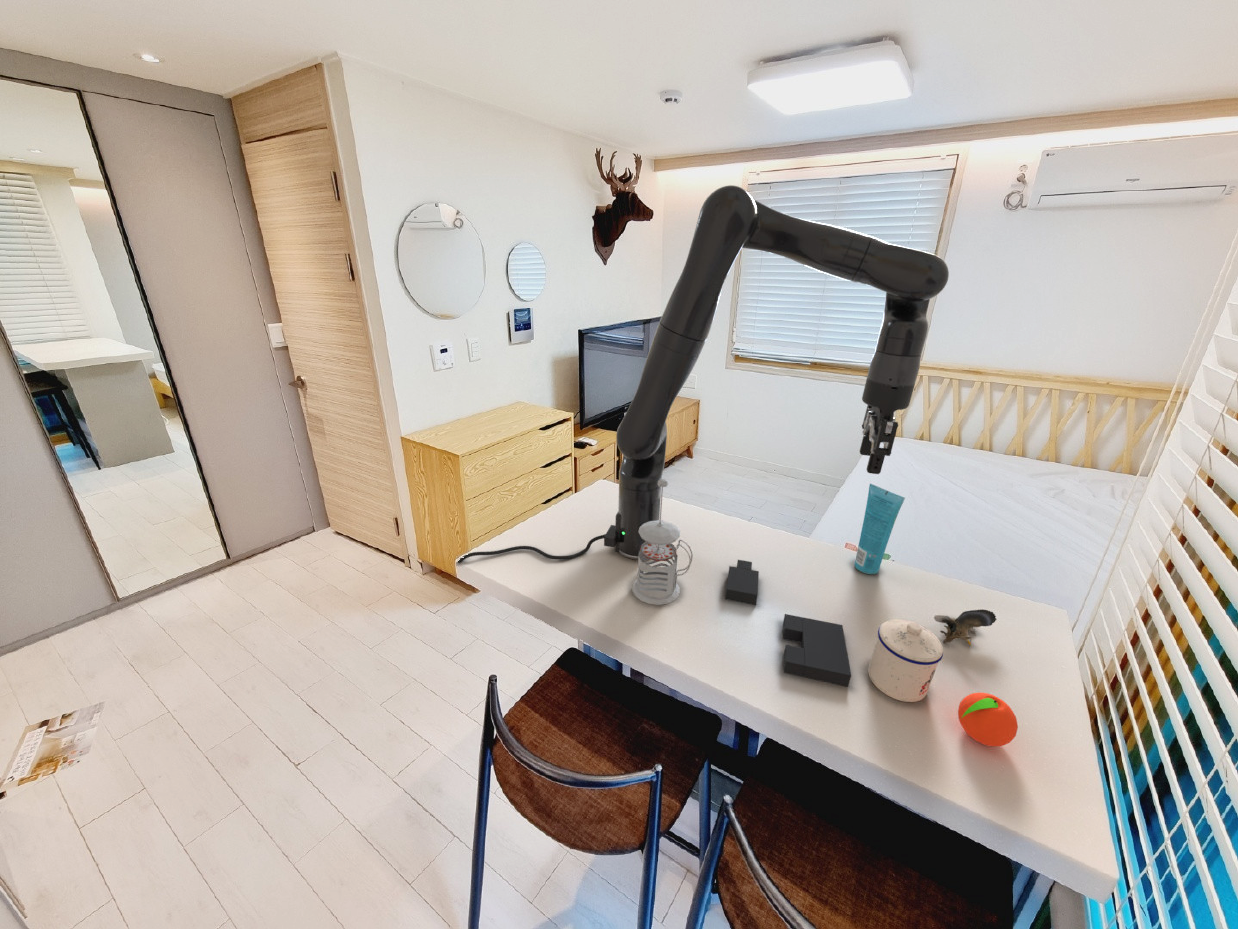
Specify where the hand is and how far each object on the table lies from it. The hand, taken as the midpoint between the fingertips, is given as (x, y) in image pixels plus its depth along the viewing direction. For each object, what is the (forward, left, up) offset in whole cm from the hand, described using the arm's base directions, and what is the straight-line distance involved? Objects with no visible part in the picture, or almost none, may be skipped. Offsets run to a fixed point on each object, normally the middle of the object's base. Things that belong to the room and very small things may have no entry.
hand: (869, 463), depth 93 cm
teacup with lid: (+7, -23, -28) cm, 37 cm away
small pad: (-19, -6, -28) cm, 35 cm away
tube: (+7, +8, -28) cm, 30 cm away
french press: (-35, -13, -28) cm, 47 cm away
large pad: (-6, -22, -28) cm, 36 cm away
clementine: (+16, -32, -28) cm, 45 cm away
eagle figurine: (+20, -10, -28) cm, 36 cm away
